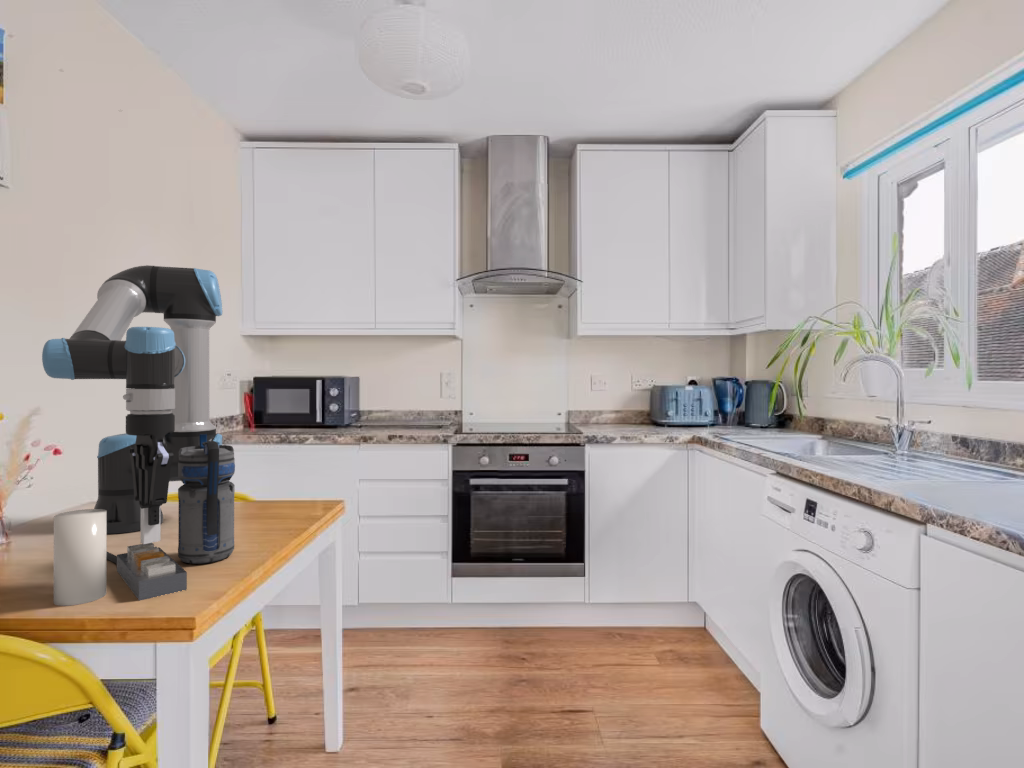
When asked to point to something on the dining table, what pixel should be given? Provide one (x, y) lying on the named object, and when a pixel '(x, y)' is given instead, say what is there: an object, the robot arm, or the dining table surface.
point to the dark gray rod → (111, 557)
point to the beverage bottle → (206, 502)
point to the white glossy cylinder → (80, 556)
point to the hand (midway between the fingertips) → (150, 541)
